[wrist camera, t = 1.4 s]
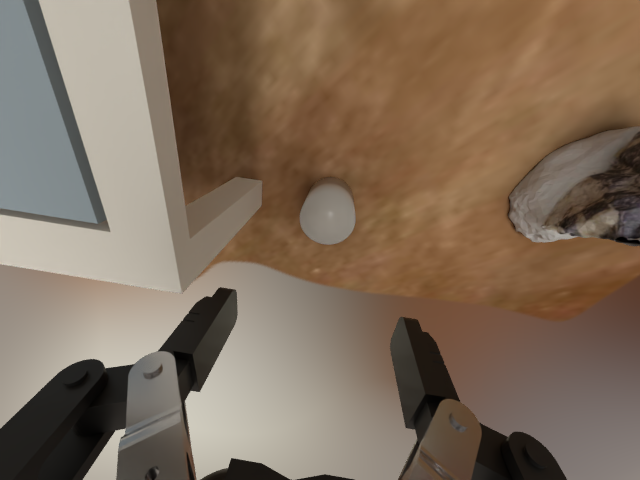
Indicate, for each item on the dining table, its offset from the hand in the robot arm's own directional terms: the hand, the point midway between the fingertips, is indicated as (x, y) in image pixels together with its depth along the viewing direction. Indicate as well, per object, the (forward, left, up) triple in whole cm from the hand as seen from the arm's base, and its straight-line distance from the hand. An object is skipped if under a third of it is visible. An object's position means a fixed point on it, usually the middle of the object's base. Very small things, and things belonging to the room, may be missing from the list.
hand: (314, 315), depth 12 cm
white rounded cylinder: (0, 0, -18) cm, 18 cm away
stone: (-6, +24, -18) cm, 31 cm away
